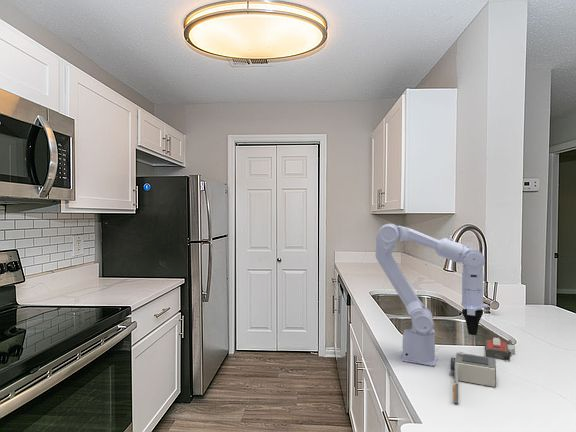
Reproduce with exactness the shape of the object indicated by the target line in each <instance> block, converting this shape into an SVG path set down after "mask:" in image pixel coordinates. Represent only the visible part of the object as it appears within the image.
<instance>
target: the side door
mask: <svg viewBox="0 0 576 432" xmlns="http://www.w3.org/2000/svg"><path fill="white" fill-rule="evenodd" d="M452 387H453V391H452V393H453V394H452V398H453V399H452V400H453V402H455V404H459V380H458V363H455V371H454V382H453V385H452Z"/></svg>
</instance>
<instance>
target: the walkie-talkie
mask: <svg viewBox="0 0 576 432" xmlns="http://www.w3.org/2000/svg"><path fill="white" fill-rule="evenodd" d="M507 342H508V343H507ZM507 342H506V341H503V340H501V338H500V337H492V339H486V340H485V342H484V348H485V357H490V358H496V360H500V361H509V360H511V356H514V355H516V346H515V345H514V344H513V340H511V339H509V340H508V341H507Z"/></svg>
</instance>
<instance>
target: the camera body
mask: <svg viewBox="0 0 576 432" xmlns="http://www.w3.org/2000/svg"><path fill="white" fill-rule="evenodd" d="M455 363H458V382H459V381H460V382H464V383H465V382H466V383H472V384H476V385H483V386H486V387H487V386H489V387H493V388H497V359H496V358H490V357H486V356H482V355H476V354H469V353H465V352H462V351H459V352H456V354H455V357H453V356H452V357H450V371H451V372H455Z"/></svg>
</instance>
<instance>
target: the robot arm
mask: <svg viewBox="0 0 576 432" xmlns="http://www.w3.org/2000/svg"><path fill="white" fill-rule="evenodd" d="M398 240H399V242H407V241H411V242H414V243H417V244H419V245H422V246H425V247H427V248H430V249H433V250H435V252H436V254H437V256H439V257H442V258H444V259H447V260H449V261H451V262H454V263H457V264H460V263H462V272H461V287H462V288H461V303H460V304H461V307H463V309H462V310H461V313H462V315H463V317H464V320H465V324H466V328H467V333H468V335H472V336H477V334H478V329H479V324H480V321H481V319H482V317H483V315H484V310H483V309H487V308H488V307H489V305H488V303H487V304H486V303H484V274H483V273H484V272H483V271H484V269H483V266H484V265H485V262H486V259H485V257H484V255H483V253H482V252H481V251H480V250H477V249H476V248H474V247H470V245H469V244H462V243H460V242H456V241H455V240H454V238H452V237H449V238H447V237H444V238H441V239H437V238H435V237H433V236H431V235H427V234H426V233H425V234H424V233H422V232H420V231H418V230H415V229H412V228H409V227H407V226H402V225H396V224H394V223H385V224H384V225H382V226H381V227H379V230H378V232H377V234H376V236H375V259H376V260H377V262H378V264H379V266H380V267H381V269H382V270H383V272H384V273H385V275H386V277H387V279H388V280H389V281H390V283H391V285H392V287H393V288H394V290H395V292H396V294H397V295H398V296H399V298H400V300H401V302H402V303H403V304H404V306H405V308H406V309H405V310H406V312H407V313H408V316H409V317H410V320H411V325H412V326H411V327H410V329H404V330H403V333H402V359H401V361H402V362H406V363H407V362H408V363H413V364H420V365H424V366H425V365H426V366H432V367H434V366H436V363H437V361H438V356H436V331H435V329H434V326H435V323H434V315H433V313H432V311H431V310H430V309H429V308H427V307H426V306H425V305H424V304H423V301H421V300H420V298H419V297H418V296H417V294H416V292H415V290H414V289H413V287H412V286H411V284H410V283H409V281H408V280H407V278H406V276H405V275H404V272H403V271H402V269H401V268H400V267H399V265H398V263H397V261H396V260H395V258H394V256H393V251H394V248H395V245H396V243H397V242H398Z"/></svg>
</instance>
